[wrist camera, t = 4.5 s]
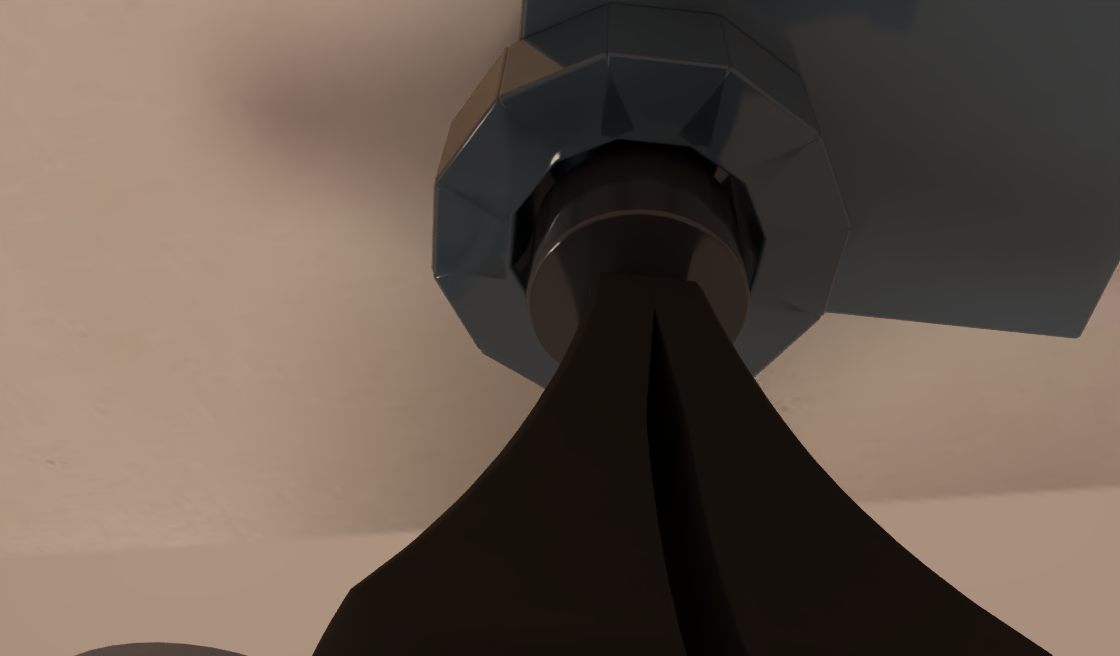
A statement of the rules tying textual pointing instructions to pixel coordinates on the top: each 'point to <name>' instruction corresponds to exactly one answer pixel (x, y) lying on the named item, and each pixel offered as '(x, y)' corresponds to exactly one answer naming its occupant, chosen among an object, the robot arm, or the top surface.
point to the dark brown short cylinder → (633, 238)
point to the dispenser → (811, 156)
